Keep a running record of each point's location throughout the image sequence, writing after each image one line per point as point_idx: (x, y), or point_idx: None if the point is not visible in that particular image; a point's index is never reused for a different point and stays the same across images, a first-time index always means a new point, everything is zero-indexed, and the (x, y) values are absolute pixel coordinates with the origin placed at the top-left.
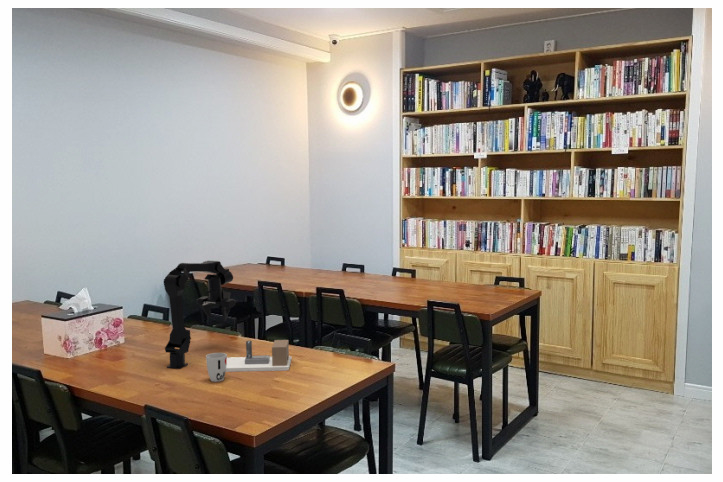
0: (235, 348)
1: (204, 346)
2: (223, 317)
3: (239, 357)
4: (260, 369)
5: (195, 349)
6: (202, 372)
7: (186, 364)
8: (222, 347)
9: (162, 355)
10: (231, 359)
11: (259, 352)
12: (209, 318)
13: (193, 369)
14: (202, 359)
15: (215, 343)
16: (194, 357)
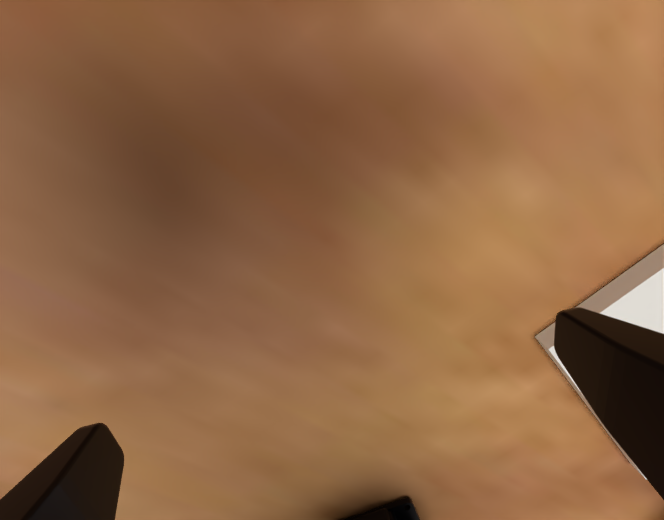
0: (366, 48)
1: (70, 190)
2: (633, 448)
3: (651, 283)
4: None
5: (112, 296)
6: (569, 504)
7: (416, 512)
8: (234, 104)
9: None
10: None
11: (653, 5)
12: (118, 461)
13: (494, 509)
14: (390, 398)
15: (30, 38)
16: (308, 406)
